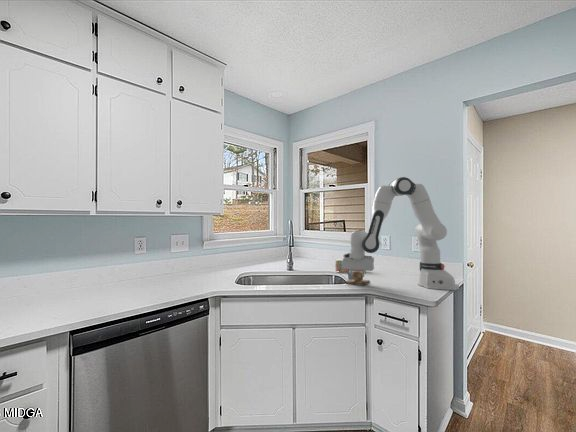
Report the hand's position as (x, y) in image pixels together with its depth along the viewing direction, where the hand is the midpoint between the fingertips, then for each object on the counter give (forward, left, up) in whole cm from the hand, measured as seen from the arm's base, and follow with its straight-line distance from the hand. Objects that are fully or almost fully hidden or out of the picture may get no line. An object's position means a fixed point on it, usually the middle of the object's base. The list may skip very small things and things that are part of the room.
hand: (357, 276), depth 191 cm
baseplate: (0, 0, -4) cm, 4 cm away
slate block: (+7, -11, -4) cm, 14 cm away
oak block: (0, 0, -2) cm, 2 cm away
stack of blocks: (+18, -36, -4) cm, 41 cm away
